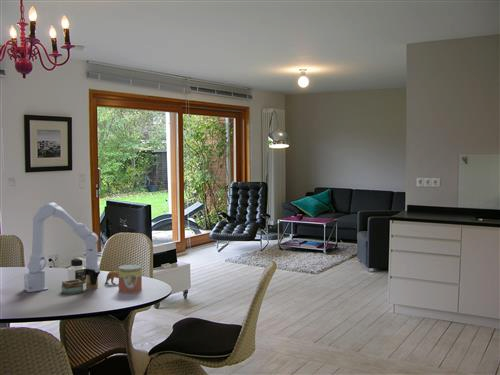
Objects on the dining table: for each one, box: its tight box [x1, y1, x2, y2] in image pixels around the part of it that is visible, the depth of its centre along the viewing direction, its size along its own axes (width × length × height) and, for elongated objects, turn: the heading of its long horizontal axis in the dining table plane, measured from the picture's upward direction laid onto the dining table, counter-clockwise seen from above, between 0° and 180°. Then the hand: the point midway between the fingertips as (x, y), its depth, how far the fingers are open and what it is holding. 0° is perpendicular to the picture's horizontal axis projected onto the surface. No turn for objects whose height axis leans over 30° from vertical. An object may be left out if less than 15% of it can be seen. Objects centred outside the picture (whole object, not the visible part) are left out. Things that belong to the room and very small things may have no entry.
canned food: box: [118, 264, 143, 295], centre depth 256 cm, size 11×11×12 cm
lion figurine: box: [104, 270, 119, 286], centre depth 271 cm, size 15×5×9 cm, turn 130°
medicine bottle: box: [67, 257, 87, 283], centre depth 274 cm, size 7×7×12 cm
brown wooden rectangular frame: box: [61, 279, 84, 289], centre depth 253 cm, size 8×6×2 cm
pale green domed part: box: [61, 285, 84, 295], centre depth 253 cm, size 10×10×2 cm
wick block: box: [85, 275, 99, 291], centre depth 260 cm, size 5×2×7 cm, turn 130°
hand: (92, 283), depth 260 cm, fingers open, 3 cm apart
